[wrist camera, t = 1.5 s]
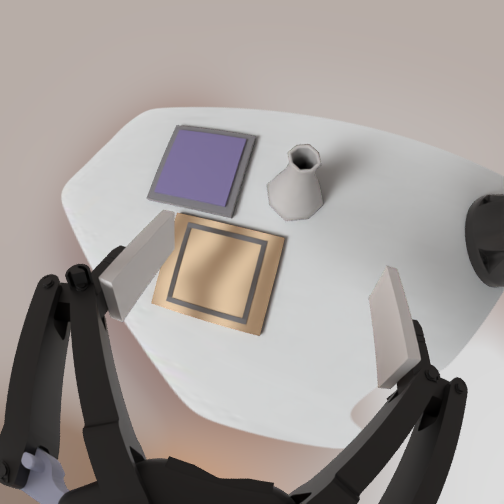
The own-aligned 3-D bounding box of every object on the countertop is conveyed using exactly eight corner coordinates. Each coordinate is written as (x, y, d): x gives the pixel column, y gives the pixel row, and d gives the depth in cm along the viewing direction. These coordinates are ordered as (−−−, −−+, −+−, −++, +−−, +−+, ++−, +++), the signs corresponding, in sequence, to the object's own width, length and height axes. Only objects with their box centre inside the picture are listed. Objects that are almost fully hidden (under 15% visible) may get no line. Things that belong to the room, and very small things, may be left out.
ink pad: (255, 139, 36) (255, 134, 35) (231, 218, 34) (230, 215, 33) (178, 128, 37) (175, 123, 36) (148, 200, 35) (145, 197, 34)
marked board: (284, 239, 33) (284, 237, 33) (259, 335, 32) (259, 336, 31) (178, 213, 35) (176, 212, 34) (153, 303, 33) (151, 303, 32)
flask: (257, 182, 35) (253, 141, 25) (306, 162, 35) (317, 119, 25) (281, 231, 34) (287, 204, 24) (332, 208, 34) (355, 176, 24)
